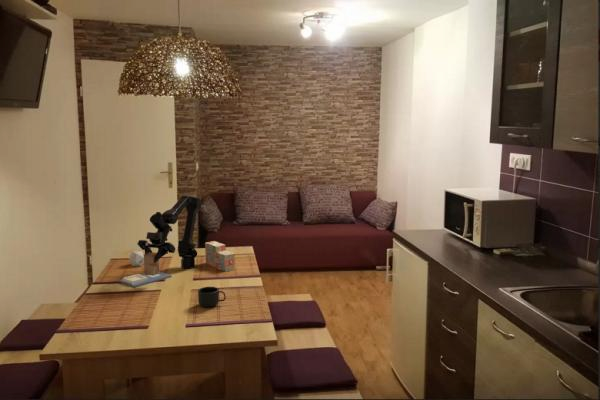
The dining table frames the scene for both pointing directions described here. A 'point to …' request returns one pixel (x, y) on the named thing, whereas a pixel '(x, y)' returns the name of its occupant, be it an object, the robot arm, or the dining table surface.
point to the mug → (209, 296)
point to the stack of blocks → (219, 256)
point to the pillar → (151, 264)
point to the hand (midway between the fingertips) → (149, 261)
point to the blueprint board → (143, 279)
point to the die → (136, 258)
